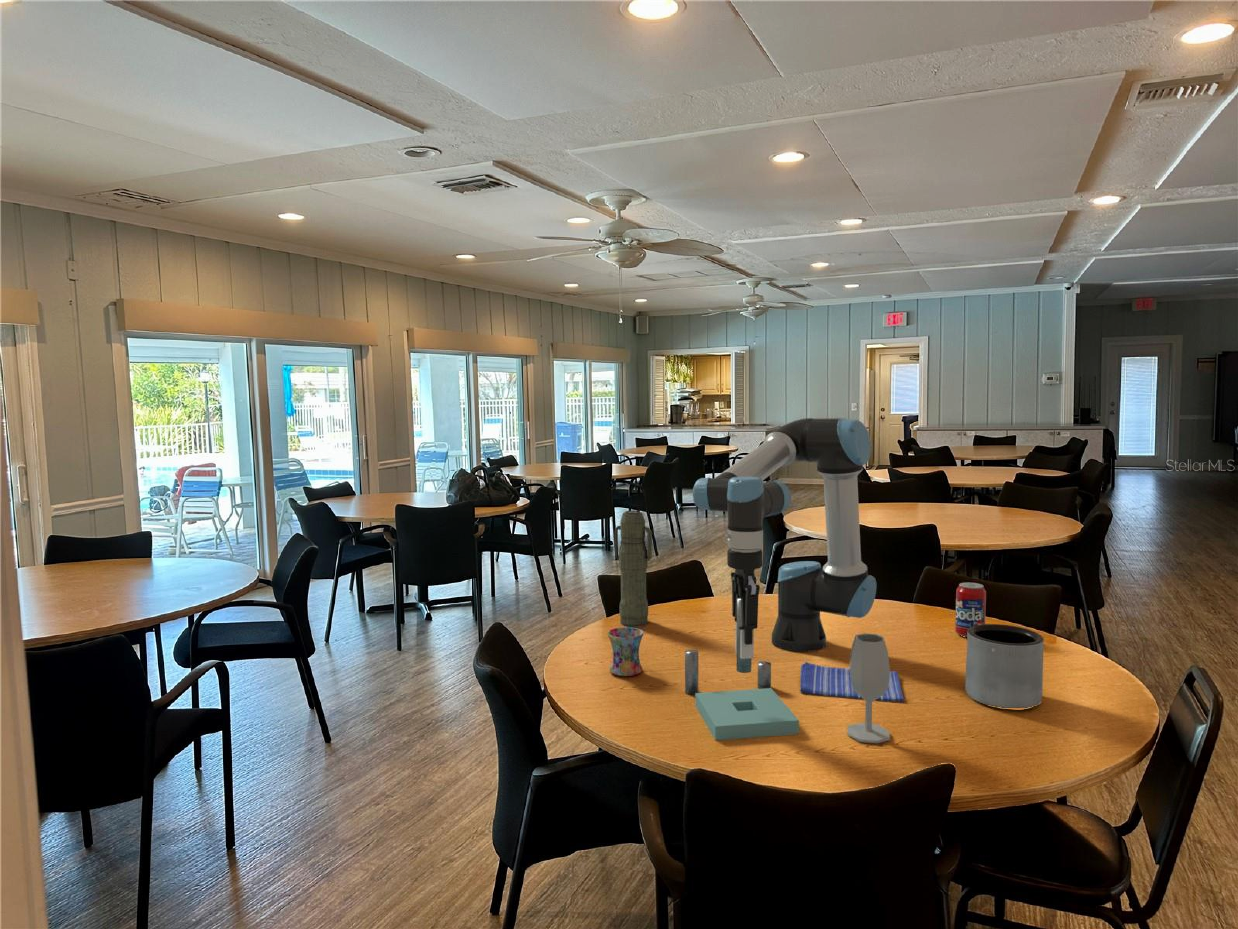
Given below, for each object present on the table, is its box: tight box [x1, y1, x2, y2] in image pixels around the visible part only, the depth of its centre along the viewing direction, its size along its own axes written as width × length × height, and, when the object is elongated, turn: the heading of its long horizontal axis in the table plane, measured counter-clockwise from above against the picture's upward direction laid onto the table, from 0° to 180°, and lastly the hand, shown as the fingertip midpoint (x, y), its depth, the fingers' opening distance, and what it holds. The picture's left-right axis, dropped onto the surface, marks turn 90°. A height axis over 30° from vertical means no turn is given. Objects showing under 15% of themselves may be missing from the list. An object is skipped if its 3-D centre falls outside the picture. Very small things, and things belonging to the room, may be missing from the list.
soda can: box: [954, 581, 987, 638], centre depth 227 cm, size 8×8×15 cm
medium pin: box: [684, 649, 700, 696], centre depth 188 cm, size 3×3×10 cm
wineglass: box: [847, 632, 891, 744], centre depth 162 cm, size 9×9×21 cm
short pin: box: [757, 660, 772, 689], centre depth 190 cm, size 3×3×6 cm
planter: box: [964, 623, 1045, 708], centre depth 181 cm, size 16×16×16 cm
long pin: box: [736, 597, 752, 674], centre depth 170 cm, size 3×3×16 cm
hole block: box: [694, 687, 800, 741], centre depth 172 cm, size 18×18×3 cm
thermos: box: [613, 510, 653, 628], centre depth 243 cm, size 9×12×35 cm
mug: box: [607, 626, 645, 677], centre depth 203 cm, size 12×9×11 cm
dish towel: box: [799, 661, 905, 703], centre depth 191 cm, size 17×24×3 cm
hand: (744, 654), depth 171 cm, fingers closed on long pin, 3 cm apart
